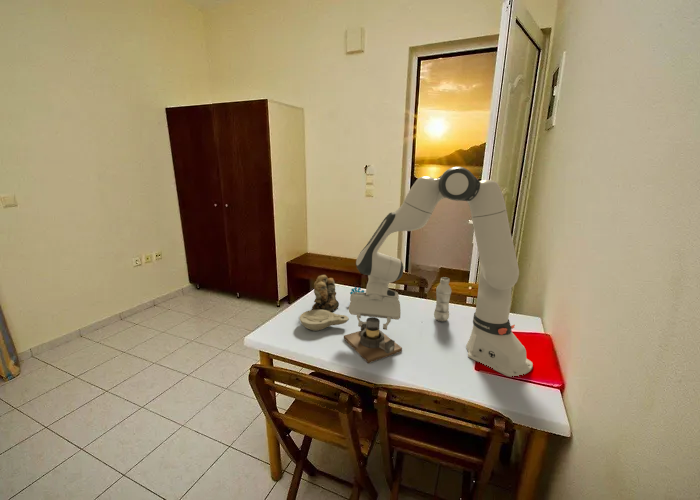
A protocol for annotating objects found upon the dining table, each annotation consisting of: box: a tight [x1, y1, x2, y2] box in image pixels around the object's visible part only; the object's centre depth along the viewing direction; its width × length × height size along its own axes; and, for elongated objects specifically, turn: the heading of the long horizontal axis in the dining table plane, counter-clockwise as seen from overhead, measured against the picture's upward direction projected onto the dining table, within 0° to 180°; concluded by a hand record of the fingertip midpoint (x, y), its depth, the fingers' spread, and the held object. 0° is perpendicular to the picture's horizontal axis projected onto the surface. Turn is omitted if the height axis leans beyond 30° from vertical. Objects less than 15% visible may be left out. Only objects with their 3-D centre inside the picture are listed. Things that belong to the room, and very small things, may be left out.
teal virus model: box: [349, 286, 365, 295], centre depth 156 cm, size 11×6×10 cm
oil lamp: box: [299, 309, 350, 332], centre depth 131 cm, size 21×14×5 cm
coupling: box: [365, 317, 380, 340], centre depth 117 cm, size 5×5×9 cm
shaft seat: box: [343, 321, 403, 364], centre depth 118 cm, size 19×15×5 cm
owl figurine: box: [311, 274, 340, 313], centre depth 147 cm, size 18×12×17 cm, turn 160°
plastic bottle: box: [433, 276, 452, 323], centre depth 136 cm, size 6×7×20 cm
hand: (372, 327), depth 116 cm, fingers open, 8 cm apart
